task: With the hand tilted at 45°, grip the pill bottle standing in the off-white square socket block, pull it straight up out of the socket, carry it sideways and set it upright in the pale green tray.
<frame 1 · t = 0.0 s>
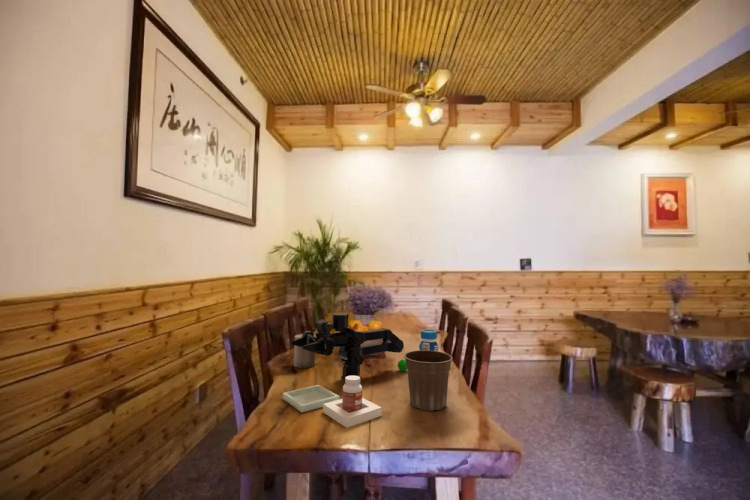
hand: (296, 345, 122), 17 cm above the table, tool horizontal, fingers open, 9 cm apart
plant pot: (427, 404, 112), on the table
socket block: (351, 413, 103), on the table
pill bottle: (351, 414, 103), resting in socket block
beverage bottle: (428, 379, 137), on the table
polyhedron: (402, 371, 149), on the table
pillar candle: (304, 365, 154), on the table
parts tray: (310, 400, 112), on the table
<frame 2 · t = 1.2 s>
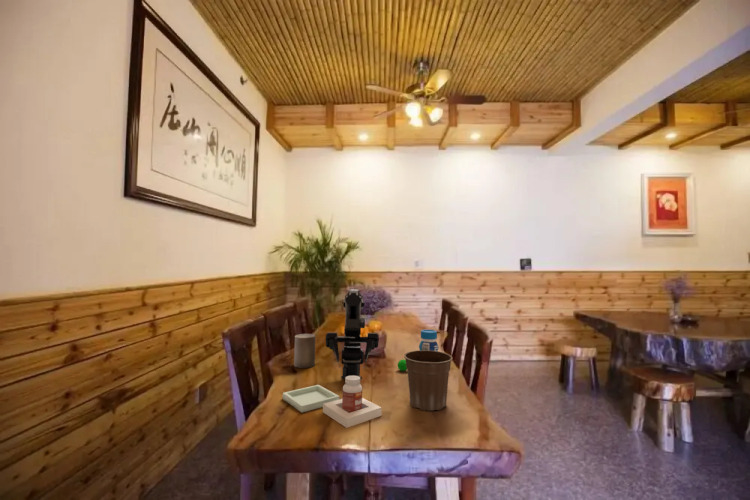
hand: (351, 361, 111), 14 cm above the table, tool tilted 45°, fingers open, 9 cm apart
nothing on the table moved.
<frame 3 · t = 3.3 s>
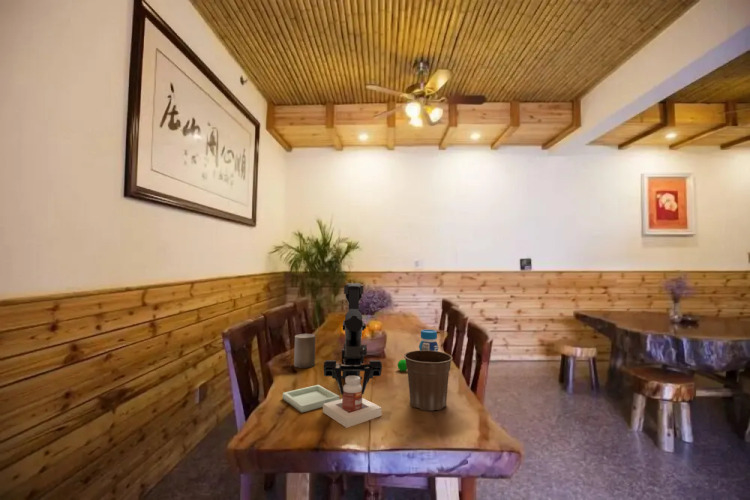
hand: (352, 393, 102), 7 cm above the table, tool tilted 45°, fingers closed on pill bottle, 6 cm apart
pill bottle: (351, 414, 103), resting in socket block, touching gripper
everything else where it was.
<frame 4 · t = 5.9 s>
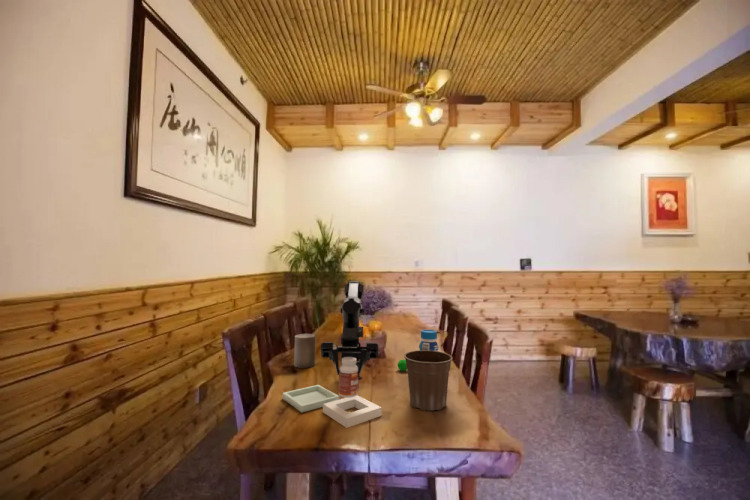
hand: (348, 374, 103), 12 cm above the table, tool tilted 45°, fingers closed on pill bottle, 6 cm apart
pill bottle: (348, 395, 104), point 5 cm above the table, touching gripper
everything else where it was.
when the fingers open (8 cm above the table, at t = 8.5 s): pill bottle drops 1 cm, resting on parts tray.
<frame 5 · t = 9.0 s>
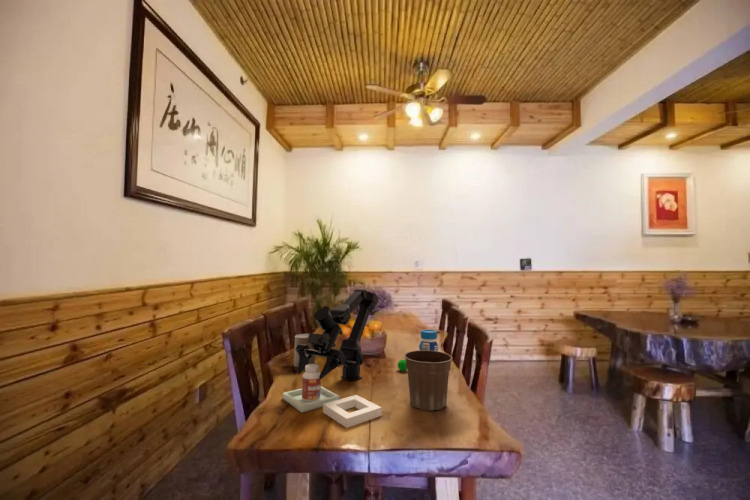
hand: (309, 375, 112), 9 cm above the table, tool tilted 45°, fingers open, 9 cm apart
pill bottle: (311, 399, 113), resting on parts tray
everything else where it was.
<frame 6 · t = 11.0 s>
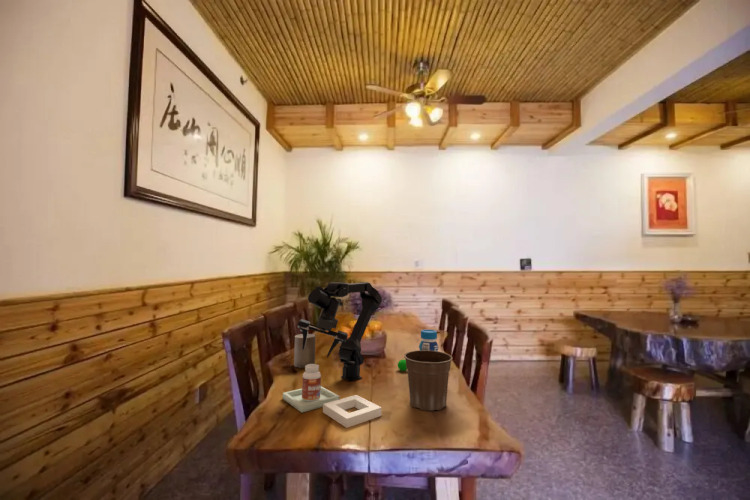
hand: (315, 353, 120), 14 cm above the table, tool tilted 25°, fingers open, 9 cm apart
nothing on the table moved.
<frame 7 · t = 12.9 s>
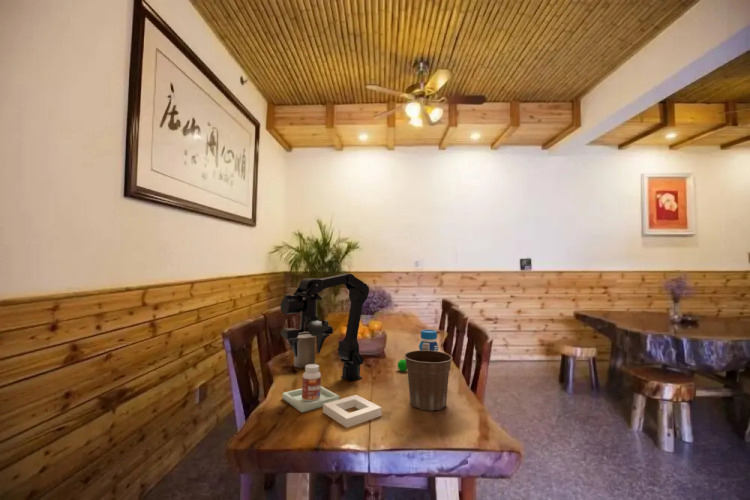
hand: (307, 354, 122), 13 cm above the table, tool pointing down, fingers open, 9 cm apart
nothing on the table moved.
at the end: pill bottle inside the target area on the parts tray (0.1 cm from its centre), point 0.3 cm above the parts tray's base; pill bottle tilted 0°; the gripper is holding nothing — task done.
